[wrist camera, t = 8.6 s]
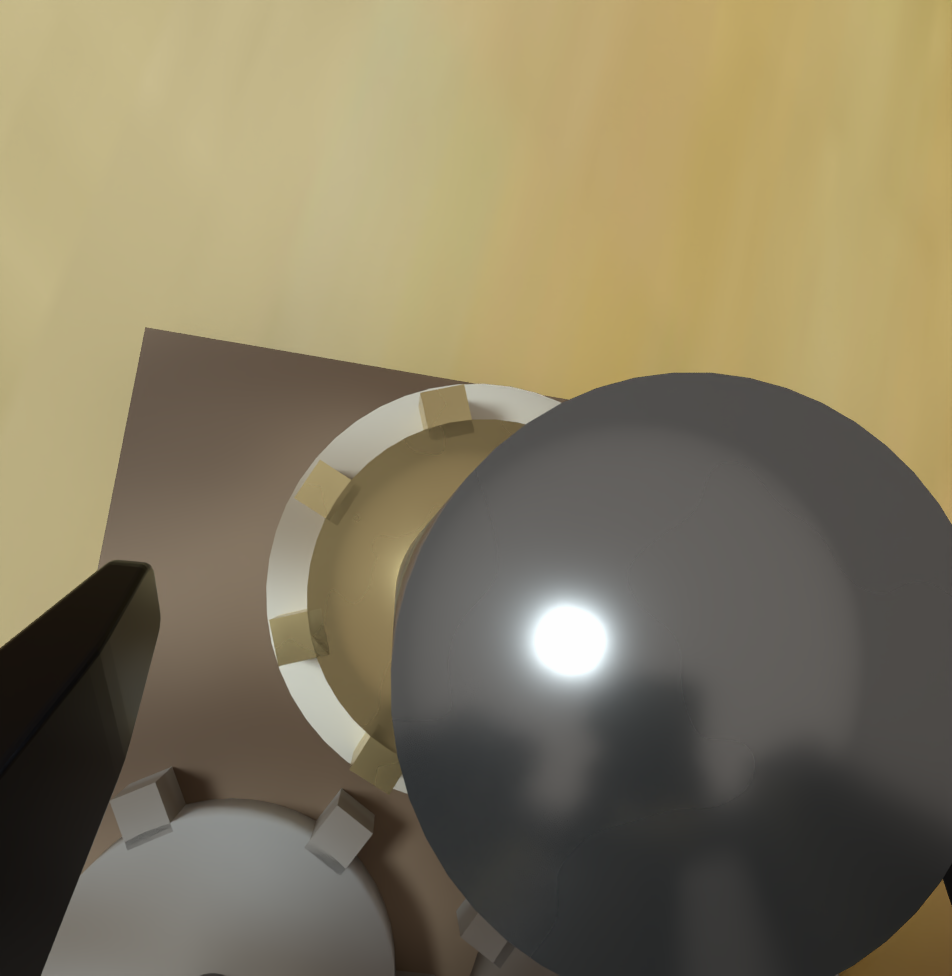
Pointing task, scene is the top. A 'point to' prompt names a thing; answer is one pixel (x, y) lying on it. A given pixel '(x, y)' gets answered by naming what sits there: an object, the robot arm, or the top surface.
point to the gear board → (258, 695)
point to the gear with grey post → (650, 671)
